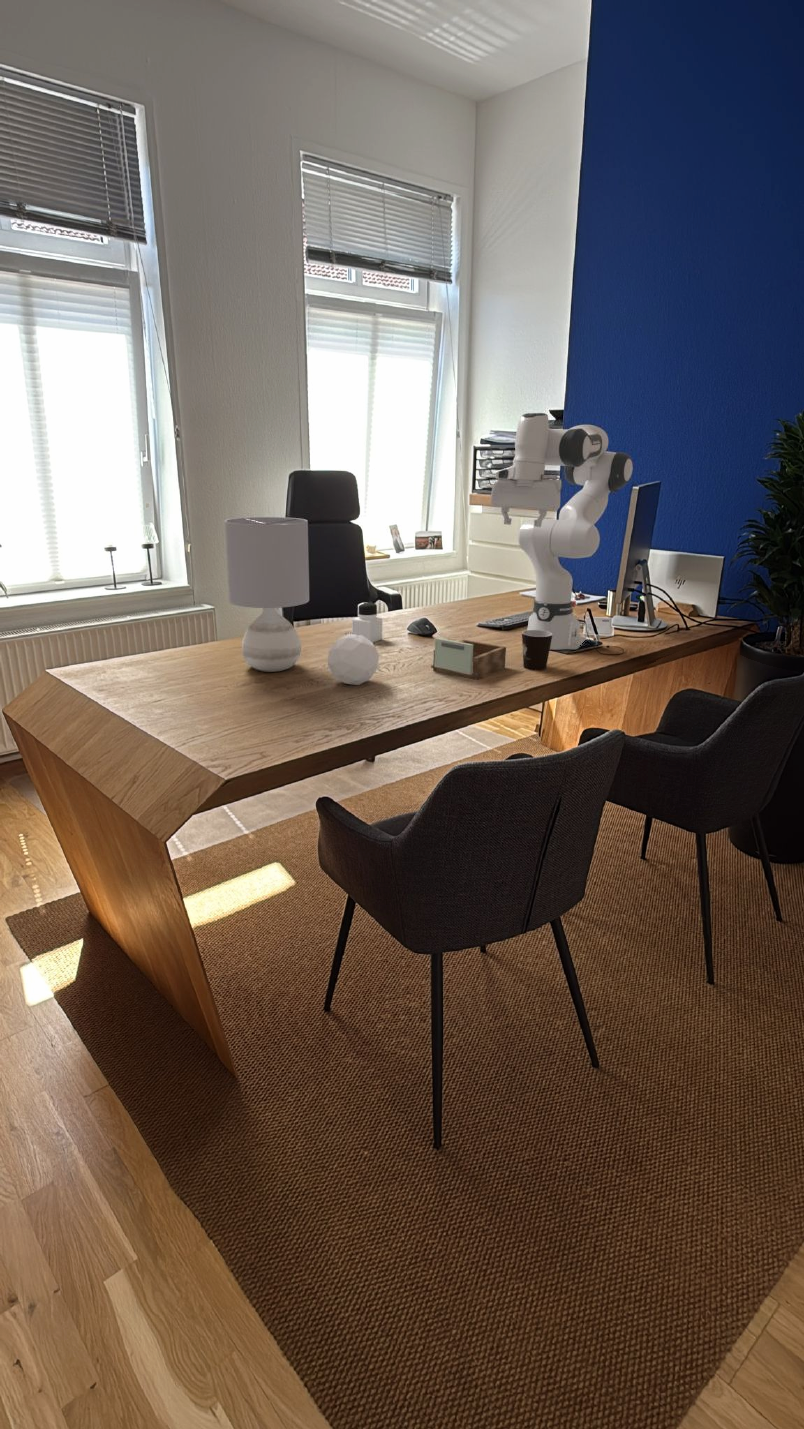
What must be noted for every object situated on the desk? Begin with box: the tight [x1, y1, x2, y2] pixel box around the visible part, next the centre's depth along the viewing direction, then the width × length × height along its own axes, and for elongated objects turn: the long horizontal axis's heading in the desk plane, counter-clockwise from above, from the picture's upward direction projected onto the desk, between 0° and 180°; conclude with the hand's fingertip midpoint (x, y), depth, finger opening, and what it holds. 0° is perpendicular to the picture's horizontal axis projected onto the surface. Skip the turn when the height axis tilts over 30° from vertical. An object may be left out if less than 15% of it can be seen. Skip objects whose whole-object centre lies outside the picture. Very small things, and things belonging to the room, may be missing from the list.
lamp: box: [224, 516, 310, 673], centre depth 214 cm, size 22×22×40 cm
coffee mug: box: [521, 629, 553, 671], centre depth 225 cm, size 12×9×10 cm
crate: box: [430, 639, 507, 680], centre depth 221 cm, size 17×14×6 cm
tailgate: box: [434, 637, 473, 674], centre depth 213 cm, size 1×12×8 cm, turn 54°
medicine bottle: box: [351, 602, 383, 644], centre depth 251 cm, size 7×7×12 cm
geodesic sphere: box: [327, 631, 380, 686], centre depth 206 cm, size 14×14×14 cm
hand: (522, 525), depth 220 cm, fingers open, 8 cm apart
